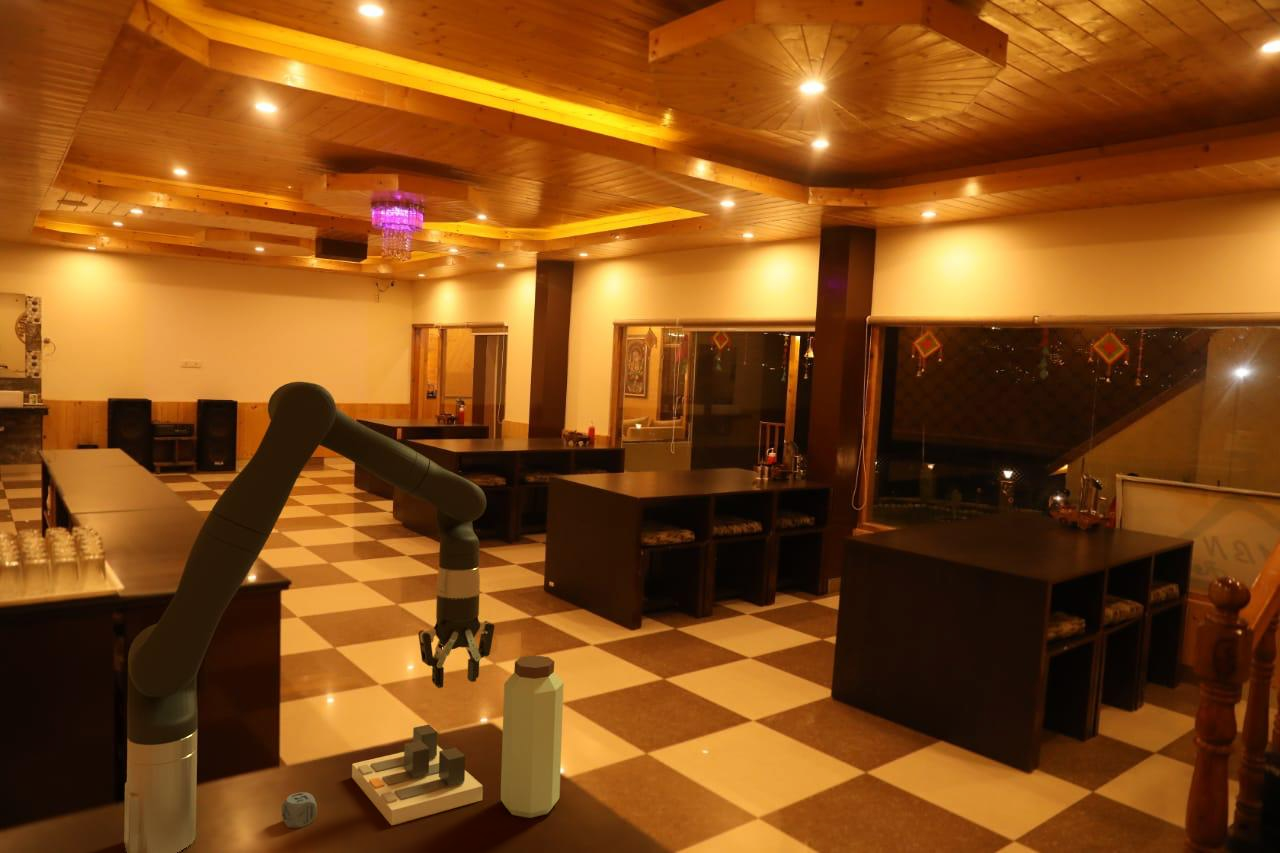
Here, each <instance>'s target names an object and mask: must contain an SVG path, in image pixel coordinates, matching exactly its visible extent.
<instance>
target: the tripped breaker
mask: <svg viewBox="0 0 1280 853" xmlns="http://www.w3.org/2000/svg"><path fill="white" fill-rule="evenodd" d="M403 744H404V747H403V748H404V751H403V752H404V770H405V771H406V772H407V773H408V774H409V775H410V776H411V777H412V778H413V777H417V776H421V775H425V774H429V747H427V746H426V745H425V744H424V743H423V742H422V741H421V740H420V741H415V742H413V741H412V742H406V743H403Z"/></svg>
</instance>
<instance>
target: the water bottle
mask: <svg viewBox="0 0 1280 853" xmlns="http://www.w3.org/2000/svg"><path fill="white" fill-rule="evenodd" d="M513 670H514V672H513V673H512V674H510V676H509V677H508V679H507V680H505V682H504V683H503V690H504V691H503V707H502V708H503V711H502V712H503V715H502V743H501V744H502V745H501V747H502V748H501V774H500V801H501V802H502V804H503V805H504V808H506V809H507V811H508V812H510V814H511V815H512V816H516V817H517V816H518V817H522V818H530V819H532V818H535V817H539V816H543V815H548V814H549V813H550V811H551V810H552V809H553V807H554V806H555V805H556V803H557V802H558V801H559V799H560V794H561V792H560V791H561V768H562V766H561V765H562V764H561V763H562V739H563V738H562V736H563V734H562V733H563V731H562V730H563V708H564V707H563V706H564V704H563V703H564V682H563V680H562V679H561V678H560V677H559V676H558V675H557V674H556V673H555V661H554V660H553V659H552V658H550V657H549V656H542V655H536V654H534V655H533V654H532V655H526V656H520V657H519V658H517V659H516V660H515V661H514V669H513Z"/></svg>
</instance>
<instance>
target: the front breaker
mask: <svg viewBox="0 0 1280 853" xmlns="http://www.w3.org/2000/svg"><path fill="white" fill-rule="evenodd" d="M442 750H443V751H439V777H440V778H441V779H442V780H443V781H444V782H445V783H446V784H447V785H448V786H449V785H453V784H457V783H461V782H464V780H465V770H466V767H465V766H466V755H465V754H464V753H462V752H461V751H460V750H459V749H458V748H457V747H452V748H448V749H442Z"/></svg>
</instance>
